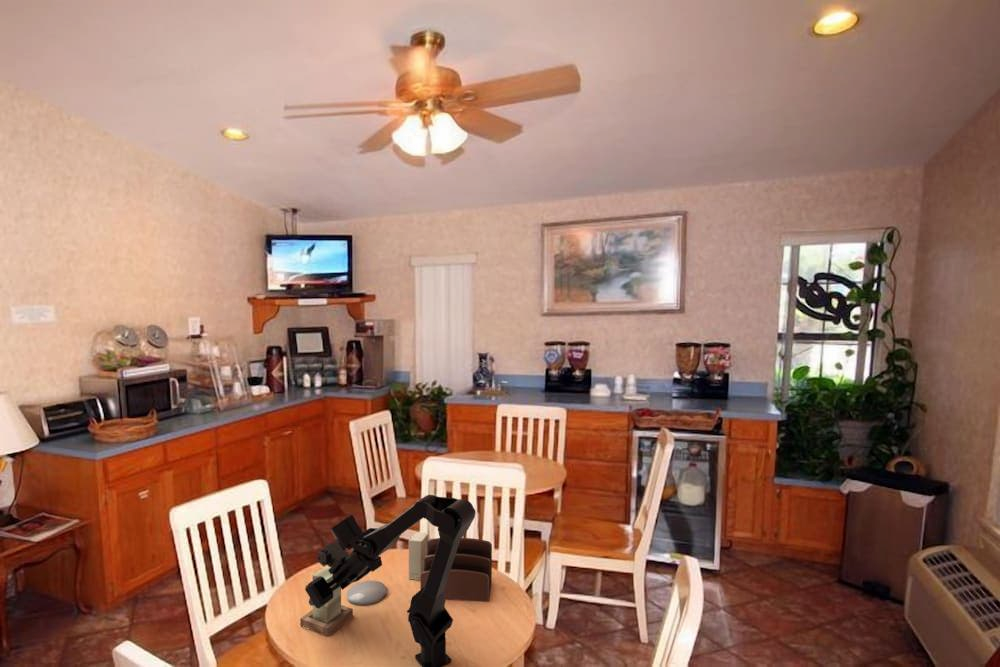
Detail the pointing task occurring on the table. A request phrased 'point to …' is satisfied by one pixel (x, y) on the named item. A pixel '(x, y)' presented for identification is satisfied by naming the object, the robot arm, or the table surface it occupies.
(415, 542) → the skincare box
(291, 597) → the table surface
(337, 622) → the pocket block
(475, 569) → the letter holder
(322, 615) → the tall khaki square post
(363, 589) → the coaster
